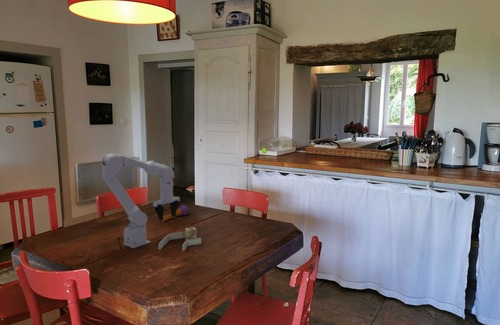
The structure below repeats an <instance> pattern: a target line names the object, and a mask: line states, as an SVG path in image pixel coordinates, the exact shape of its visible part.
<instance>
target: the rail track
mask: <svg viewBox="0 0 500 325" xmlns="http://www.w3.org/2000/svg"><path fill="white" fill-rule="evenodd" d="M178 239H185V231H179V232H173V233H171V232H170V233H168V234H167V235H166V236H165V237H164V238H163V239H162V240H160V242H159V243H158V250H159V251H161V249H163V248H164V247H165V245H166V244H168V242H170V241H172V240H178ZM196 245H202V237H197V238H195V239H187V240H185V241H184V242H183V244H182V252H184V251H185V250H187V248H188V247H190V246H196Z"/></svg>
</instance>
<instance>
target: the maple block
mask: <svg viewBox="0 0 500 325" xmlns="http://www.w3.org/2000/svg"><path fill="white" fill-rule="evenodd" d="M184 232H185V238H184V239H185V241H186V240H187V239H195V238H198V237H197V236H198V234H197V232H198V231H197V228H196V227H195V226H189V227H185V228H184Z"/></svg>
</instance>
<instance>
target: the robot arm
mask: <svg viewBox="0 0 500 325" xmlns="http://www.w3.org/2000/svg"><path fill="white" fill-rule="evenodd" d="M100 164H101V169H102V170H101V171H102V180H103V181H104V182H105V184H106V186H108V188H109V190H110V191H111V192H112V193H113V195H114V197H115V198H116V199H117V200H118V202H119V204H120V205H121V206H122V207H123V209H124V211H125V213H126V215H127V216H126V217H127V218H128V221H129V225H128V227H125V228H124V230H123V242H124V243H123V245H124V246H127V247H129V248H131V249H135V248H139V247H141V246H144V245H147V244H150V243H151V240H147V224H146V223H147V222H148V216H147V214H146V213H144V212H143V211H141V209H140V208H139V207H138V205H136V203H135V202H134V201H133V199H132V197H131V196H130V194H128V193H127V190H125V188H124V186H123V185H122V184H121V182H120V181H119V179H118V178H117V177H118V173H119V171H120V170H121V169H122V167H126V166H133V167H136V168H139V169H143V171H144V172H145V173H147V174H150V175H153V176H156V177H159V188H160V189H159V190H160V192H159V195H160V196H159V198H160V199H159V200H157V201H154V202H152V206H153V209H154V210H155V212H156V214H157V218H158V221H160V220H161V221H162V220H163V216H164V211H165V206H163V205H167V204H169V207H170V214H171V216H173V217H174V218H175V217H176V216H177V215H176V211H177V210H178V209H179V206H180V201H181V200H180V199H181V198H180V196H174V197H173V178H174V175H175V172H174V170H173V168H172V167H170V166H168V165H165V164H164V163H158V162H156V160H148V161H146V162H145V161H143V160H140V159H137V158H134V157H131V156H127V155H123V154H118V153H116V154H115V153H112V152H108V153H106V154H104V155H103V157H102V160H101V163H100ZM173 217H172V218H173ZM161 221H160V222H161Z"/></svg>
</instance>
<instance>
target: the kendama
mask: <svg viewBox="0 0 500 325" xmlns="http://www.w3.org/2000/svg"><path fill="white" fill-rule="evenodd" d="M179 206H180V207H178V208H177V211H176V215H175V216H186V215H188V214H189V211H190V208H189V207H188V206H187V205H186V204H184V205H183V204H182V205H179ZM171 218H173V216H171V213H170V214H166V215H163V220H162V221H161V220H159V221H160V223H164V222H166V221H168V220H169V219H171Z"/></svg>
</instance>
